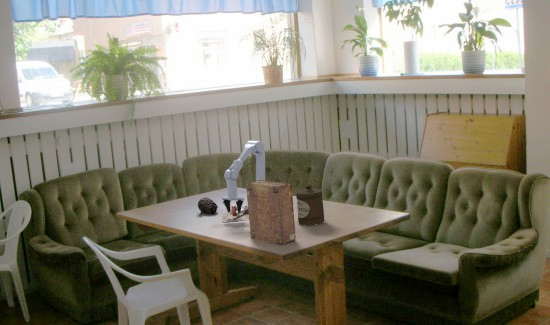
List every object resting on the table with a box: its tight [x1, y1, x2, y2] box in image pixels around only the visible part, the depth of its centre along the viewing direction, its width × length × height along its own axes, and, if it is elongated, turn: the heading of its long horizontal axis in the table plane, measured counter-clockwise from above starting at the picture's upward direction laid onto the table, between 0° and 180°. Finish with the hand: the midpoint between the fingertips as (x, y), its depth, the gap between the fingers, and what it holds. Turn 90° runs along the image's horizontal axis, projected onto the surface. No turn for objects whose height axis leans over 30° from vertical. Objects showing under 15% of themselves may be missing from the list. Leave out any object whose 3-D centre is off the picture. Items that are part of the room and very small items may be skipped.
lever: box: [231, 204, 248, 216], centre depth 436 cm, size 18×4×6 cm, turn 153°
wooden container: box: [295, 183, 326, 226], centre depth 405 cm, size 15×15×22 cm
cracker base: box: [221, 206, 249, 223], centre depth 436 cm, size 20×24×4 cm
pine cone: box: [197, 197, 219, 215], centre depth 451 cm, size 10×18×10 cm, turn 35°
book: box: [245, 179, 297, 245], centre depth 375 cm, size 25×9×30 cm, turn 42°
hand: (234, 212), depth 429 cm, fingers open, 6 cm apart
